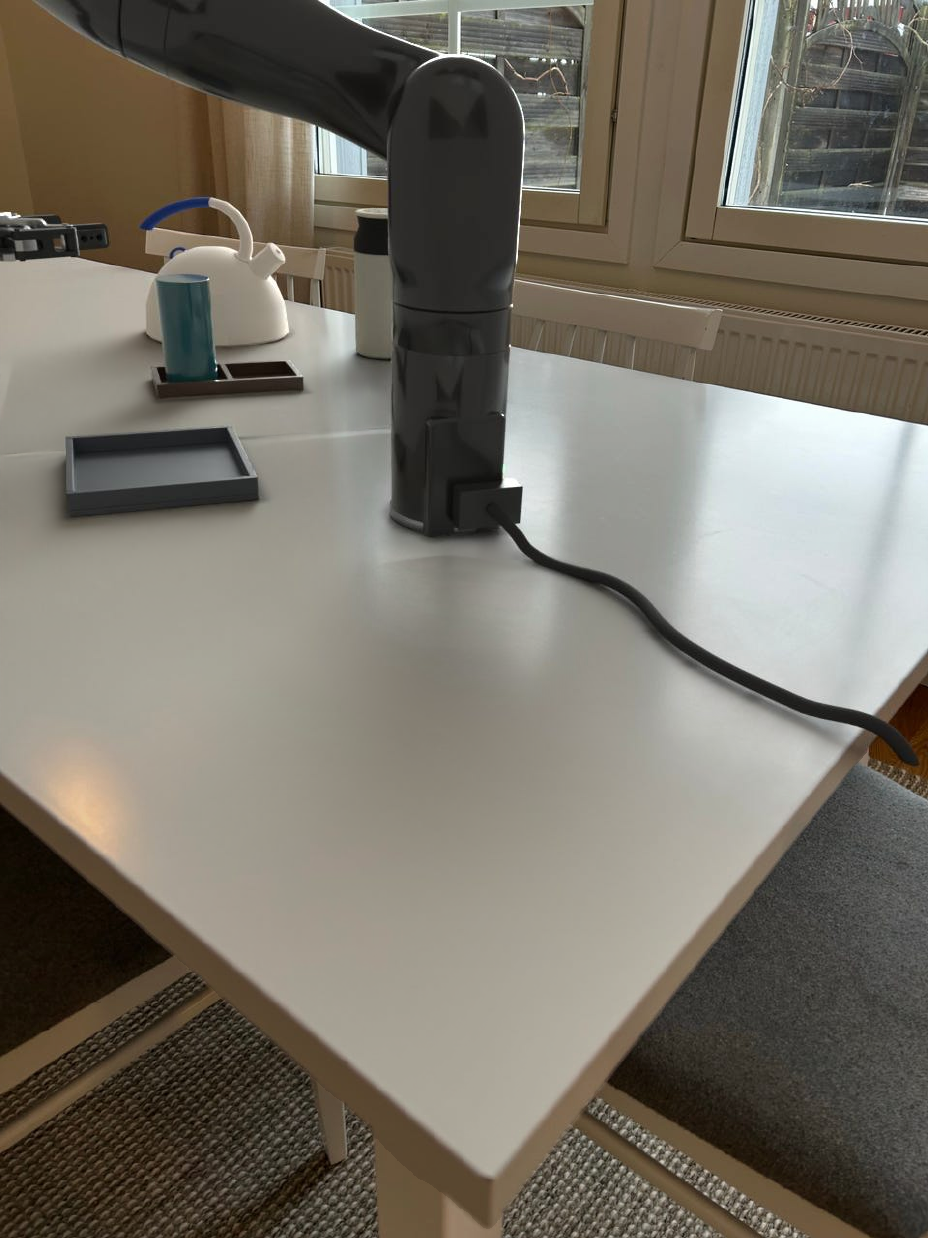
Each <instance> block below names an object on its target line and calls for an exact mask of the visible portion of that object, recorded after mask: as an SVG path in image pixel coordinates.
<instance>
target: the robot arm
mask: <svg viewBox="0 0 928 1238" xmlns="http://www.w3.org/2000/svg"><path fill="white" fill-rule="evenodd" d="M31 1H32V2H33V3H35V4H36V5H38V6H39V7H40V8H42V9H43V10H44V11H46V12H47V13H48V14H50V15H51V16H53V17H54V18H55V19H57V20H58V21H60V22H61V23H63V24H64V25H65V26H67V27H68V28H70V29H71V30H73V31H75V32H76V33H77V34H79V35H81V36H82V37H83V38H85V39H87V40H88V41H90V42H91V43H93V44H95V45H97V46H98V47H100V48H102V49H103V50H106V51H108V52H110V53H112V55H115V56H117V57H119V58H121V59H123V60H126V61H127V62H130V63H133V64H134V65H137V66H138V67H141V68H144V69H145V70H148V71H150V72H152V73H155V74H157V75H159V76H161V77H164V78H166V79H168V80H170V81H173V82H174V83H177V84H179V85H182V86H183V87H184V86H185V87H187V88H190V89H192V90H195V91H198V92H200V93H203V94H205V95H208V96H211V97H214V98H218V99H221V100H224V101H228V102H230V103H234V104H237V105H240V106H244V107H247V108H251V109H254V110H257V111H262V112H266V113H270V114H273V115H277V116H281V117H283V118H284V117H285V118H289V119H293V120H297V121H300V122H302V123H305V124H309V125H312V126H315V127H317V128H319V129H322V130H325V131H328V132H329V133H331V134H333V135H336V136H338V137H340V138H342V139H344V140H346V141H348V142H350V143H352V144H353V145H355V146H357V147H359V148H361V149H362V150H365V151H366V152H368V153H370V154H372V155H374V156H375V157H377V158H379V159H381V160H383V161H384V162H386V188H387V190H386V193H387V195H386V196H387V199H386V200H387V201H386V202H387V209H388V256H389V265H390V273H391V299H392V301H391V359H390V469H391V470H390V476H391V478H390V480H391V481H390V484H391V485H390V486H391V488H390V489H391V491H390V492H391V493H390V494H391V495H390V496H391V498H390V501H389V513H390V517H392V519H393V520H394V521H395V522H397V523H399V525H402V526H403V527H406V528H408V529H412V530H415V531H419V532H422V533H424V534H425V535H426V537H428V538H437V537H444V536H452V535H453V536H454V535H462V534H471V533H480V532H488V531H496V530H497V531H498V530H500V529H501V528H502V529H503V530H504V531H505V532H506V533H507V534H508V535H509V536H510V537H511V539H512V540H513V542H514V543H515V544H516V546H517V548H518V549H519V550H520V552H521V553H522V554H523V555H524V556H525V557H528V558H529V559H530V560H532V561H533V562H535V563H536V564H538V565H540V566H542V567H546V568H548V569H549V570H554V571H556V572H559V573H562V574H565V575H567V576H571V577H574V578H577V579H580V580H585V581H589V582H592V583H596V584H599V585H602V586H605V587H606V588H609V589H612V590H613V591H614V592H615V591H616V592H617V593H619V594H620V595H621V596H623V597H625V598H626V599H627V600H628V601H630V602H631V603H632V604H633V605H635V606H636V608H638V610H640V612H641V613H642V614H643V615H644V617H645V618H646V619H647V620H648V621H649V622H650V624H651V625H652V626H653V627H654V628H655V629H656V631H657V632H658V633H659V634H660V635H662V637H663V638H664V639H665V640H667V641H668V642H669V643H670V644H671V645H673V646H674V647H675V648H677V649H678V650H679V651H680V652H682V653H683V654H685V655H687V656H688V657H690V658H691V659H693V660H694V661H696V662H698V663H699V664H701V665H702V666H704V667H706V668H708V669H710V670H711V671H712V672H715V673H716V674H719V675H720V676H722V677H725V678H726V679H728V680H730V681H732V682H734V683H736V684H737V685H739V686H742V687H744V688H746V689H748V690H750V691H752V692H754V693H757V694H758V695H760V696H762V697H764V698H767V699H769V700H771V701H774V702H775V703H777V704H780V705H782V706H784V707H787V708H788V709H791V710H793V711H795V712H797V713H800V714H803V715H806V716H809V717H814V718H817V719H821V720H825V721H831V722H836V723H840V724H843V725H849V726H854V727H857V728H860V729H863V730H866V731H868V732H870V733H872V734H874V735H876V736H877V737H879V738H880V739H881V740H882V741H884V742H885V743H886V744H887V745H888V746H889V747H890V748H891V749H892V751H893V752H894V753H895V755H896V756H897V758H898V760H899V761H901V762H902V763H903V764H905V765H908V766H910V767H918V766H920V765H921V764H920V761H919V758H918V756H917V754H916V752H915V750H914V748H913V747H912V746H911V744H910V743H909V742H908V740H907V739H906V738H905V737H904V736H903V735H902V733H901V732H900V731H899V730H897V729H896V727H894V726H893V725H891V724H890V723H888V722H886V721H885V720H883V719H881V718H880V717H877V716H875V715H873V714H871V713H868V712H864V711H860V710H858V709H852V708H849V707H844V706H838V705H832V704H828V703H824V702H818V701H815V700H812V699H809V698H806V697H803V696H801V695H799V694H796V693H794V692H792V691H790V690H787V689H786V688H783V687H781V686H778V685H776V684H774V683H772V682H769V681H768V680H766V679H763V678H761V677H759V676H757V675H755V674H753V673H750V672H749V671H746V670H744V669H742V668H741V667H738V666H736V665H735V664H732V663H730V662H728V661H727V660H725V659H722V658H720V657H719V656H717V655H715V654H714V653H712V652H710V651H709V650H707V649H705V648H704V647H702V646H701V645H699V644H698V643H696V642H694V641H693V640H692V639H689V638H688V637H686V636H685V635H684V634H682V632H680V631H679V630H677V629H676V628H675V627H674V626H673V625H672V624H671V623H670V622H668V620H667V619H666V618H665V617H664V616H663V614H661V612H660V611H659V610H658V609H657V607H655V605H654V604H653V603H652V602H651V601H650V599H648V598H647V597H646V596H645V595H644V594H643V593H642V592H640V591H639V590H638V589H637V588H636V587H634V586H632V585H631V584H629V583H628V582H626V581H624V580H622V579H621V578H619V577H618V576H615V575H612V574H609V573H607V572H603V571H600V570H595V569H592V568H589V567H585V566H584V567H583V566H579V565H574V564H571V563H567V562H563V561H561V560H558V559H556V558H553V557H552V556H549V555H547V554H546V553H543V552H542V551H540V550H539V549H537V548H536V547H535V546H533V545H532V544H531V542H529V540H528V539H527V537H526V536H525V534H524V533H523V531H522V529H520V527H518V525H519V524H521V519H522V505H523V493H524V492H523V491H524V490H523V489H524V486H523V485H522V484H521V483H520V482H519V481H518V480H516V479H515V478H513V477H508V478H504V471H505V463H504V462H505V461H504V460H505V445H506V429H507V412H508V411H507V410H508V392H509V377H510V376H509V375H510V360H511V344H512V330H513V329H512V328H513V311H514V310H513V309H514V305H513V304H514V295H515V282H516V273H517V272H516V271H517V263H518V253H519V252H518V250H519V235H520V219H521V218H520V217H521V203H522V202H521V201H522V187H523V174H524V173H523V172H524V171H523V170H524V157H525V156H524V155H525V120H524V114H523V111H522V106H521V104H520V101H519V98H518V96H517V94H516V92H515V90H514V89H513V87H512V85H511V84H510V82H509V81H508V80H507V79H506V78H505V76H504V75H503V74H502V73H501V72H500V71H499V70H498V69H497V68H495V67H494V66H492V65H491V64H489V63H487V62H486V61H484V60H482V59H481V58H476V57H474V56H470V55H466V54H446V53H443V52H438V51H435V50H432V49H429V48H427V47H423V46H420V45H418V44H414V43H411V42H409V41H407V40H404V39H401V38H399V37H396V36H394V35H391V34H388V33H385V32H383V31H379V30H377V29H375V28H372V27H371V26H368V25H366V24H363V23H361V22H359V21H357V20H355V19H354V18H351V17H350V16H348V15H346V14H344V13H343V12H341V11H340V10H337V9H336V8H334V7H332V6H331V5H330V4H328V3H327V2H325V1H323V0H31ZM109 236H110V235H109V229H108V226H107V224H105V223H102V222H101V223H100V222H93V223H78V224H69V223H67V222H63V223H62V219H61V217H60V216H59V215H57V214H35V215H22V216H21V214H17V213H13V212H12V213H11V212H9V211H0V262H16V261H19V262H27V261H32V260H46V259H58V258H59V259H60V258H77V257H80V256H81V253H80V251H87V250H89V251H90V250H99V249H107V248H109V246H110V237H109ZM57 239H59V240H60V246H58V245H57V246H56V245H55V241H54V240H57ZM500 527H501V528H500Z"/></svg>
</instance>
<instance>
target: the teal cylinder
mask: <svg viewBox="0 0 928 1238" xmlns="http://www.w3.org/2000/svg"><path fill="white" fill-rule="evenodd" d="M155 277H156V276H155ZM155 277H154V279H155V285H156V293H157V302H158V311H159V320H160V329H161V337H162V343H161V345H162V353H163V364H164V366H165V372H166V381H167V383H172V382H191V381H210V380H218V373H217V363H218V361H217V353H216V346H215V339H214V328H213V316H212V305H211V294H210V282H209V278H208V277H207V276H203V275H195V274H170V275H162V276H158V277H156V278H155Z"/></svg>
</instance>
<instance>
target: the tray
mask: <svg viewBox="0 0 928 1238" xmlns="http://www.w3.org/2000/svg"><path fill="white" fill-rule="evenodd" d="M244 449H245V448H244V447H243V445H242V443H241V441H240V438H239V437H238V435H237V433H236V431H235V429H234V427H233V425H231V424H230V425H217V426H215V425H214V426H202V427H201V426H200V427H188V428H187V427H186V428H174V429H173V428H172V429H159V430H145V431H144V430H141V431H130V432H115V433H113V432H112V433H101V434H85V435H83V434H82V435H71V436H70V435H69V436H65V497H66V503H67V509H68V513H69V517H70V518H73V517H75V518H76V517H84V516H85V517H86V516H94V515H105V514H106V515H107V514H117V513H118V514H119V513H126V512H127V513H128V512H139V511H149V510H158V509H159V510H160V509H170V508H180V507H181V508H182V507H192V506H200V505H211V504H223V503H234V502H241V501H242V502H244V501H254V500H260V493H259V492H260V489H259V477H258V476H257V473H256V471H255V469H254V468H253V465H252V463H251V461H250V459H249V457H248V455H247V453H246V451H245V450H244Z"/></svg>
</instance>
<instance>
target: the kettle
mask: <svg viewBox="0 0 928 1238" xmlns="http://www.w3.org/2000/svg"><path fill="white" fill-rule="evenodd" d="M196 208H212V209H215V210H218V211H221V212H222V213H223V214H225V215H226V216H228V217H229V219H230V220H231V221H232V223H233V224H234V226H235V227H236V230H237V233H238V237H239V248H238V250H236V249H233V248H230V247H227V246H218V245H217V246H215V245H209V246H208V245H205V246H196V247H192V248H191V249H190V248H189V249H188V250H187V248H185V247H184V246H177V247H174V248H173V249H172V250H171V251H170V253H169V261H168V262H167V263H165V264H164V265H163V266H162V267H161V268H160V270H159V271H158V272H157V274H156V275H155V277H154V279H153V280H152V281H151V284H150V288H149V290H148V295H147V298H146V301H145V327H146V328H145V333H146V335H148V337H150V338H151V339H152V340H153V341H157V342H159V343H161V344H162V337H161V329H160V320H159V311H158V302H157V293H156V285H155V278H156V277H158V276H162V275H170V274H195V275H203V276H207V277H208V278H209V282H210V294H211V305H212V316H213V328H214V339H215V347H232V346H234V347H235V346H253V345H254V346H255V345H257V346H258V345H264V344H270V343H274V342H277V341H279V340H281V339H284V338H285V337H286V336H287V335H288V334H289V332H290V328H289V322H288V316H287V307H286V302H285V300H284V297H283V295H282V293H281V290H280V288H279V286H278V284H277V282H276V281H275V280H274V277H272V275H273V274H274V273H275V272H276V271H277V270H278V269H279V268H280V267H281V266H282V265H285V263H286V256H285V254H284V253H283V251H282V249H281V248H280V247H279V246H278V245H276V244H275V243H273V242H267V244H266V246H265V247H263V249H262V250H260V251H259V252H258V253H257V254H256V255H255V256H254V257H252V256H253V251H254V242H253V241H254V240H253V239H254V238H253V234H252V231H251V227H250V226H249V223H248V221H247V220H246V219H245V217H244V216H243V215H242V213H241V212H240V211H239V210H238V209H237V208H235V207H234V206H233V205H232V204H230V202H228V201H225V200H221V199H218V198H214V197H212V196H202V197H192V198H186V199H181V200H178V201H175V202H172V203H169V204H166V205H164V206H162V207H161V208H159V209H157V210H155V211H154V212H153V213H151V214H150V215H148V216H147V217H146V218H145V219H144V220H143V221H142V222H141V223H140V225H139V228H140V229H141V230H143V231H149V232H150V231H153V230H154V228H155V227H157V226H158V224H159V223H160V222H162V221H164V220H165V219H167V218H169V217H171V216H172V215H175V214H177V213H180V212H183V211H187V210H191V209H196ZM177 251H182V252H181V253H178V254H176V255H175V256H174V254H175V253H176V252H177Z"/></svg>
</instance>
